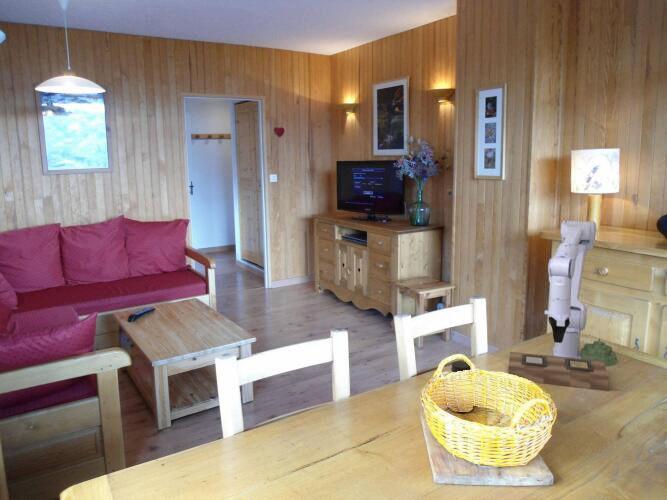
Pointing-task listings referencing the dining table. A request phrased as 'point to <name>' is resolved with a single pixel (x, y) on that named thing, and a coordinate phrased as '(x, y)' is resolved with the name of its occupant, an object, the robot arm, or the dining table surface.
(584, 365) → the brass peg
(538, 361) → the steel peg
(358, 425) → the dining table surface
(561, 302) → the robot arm
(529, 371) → the walnut board
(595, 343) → the decorative artifact
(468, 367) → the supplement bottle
